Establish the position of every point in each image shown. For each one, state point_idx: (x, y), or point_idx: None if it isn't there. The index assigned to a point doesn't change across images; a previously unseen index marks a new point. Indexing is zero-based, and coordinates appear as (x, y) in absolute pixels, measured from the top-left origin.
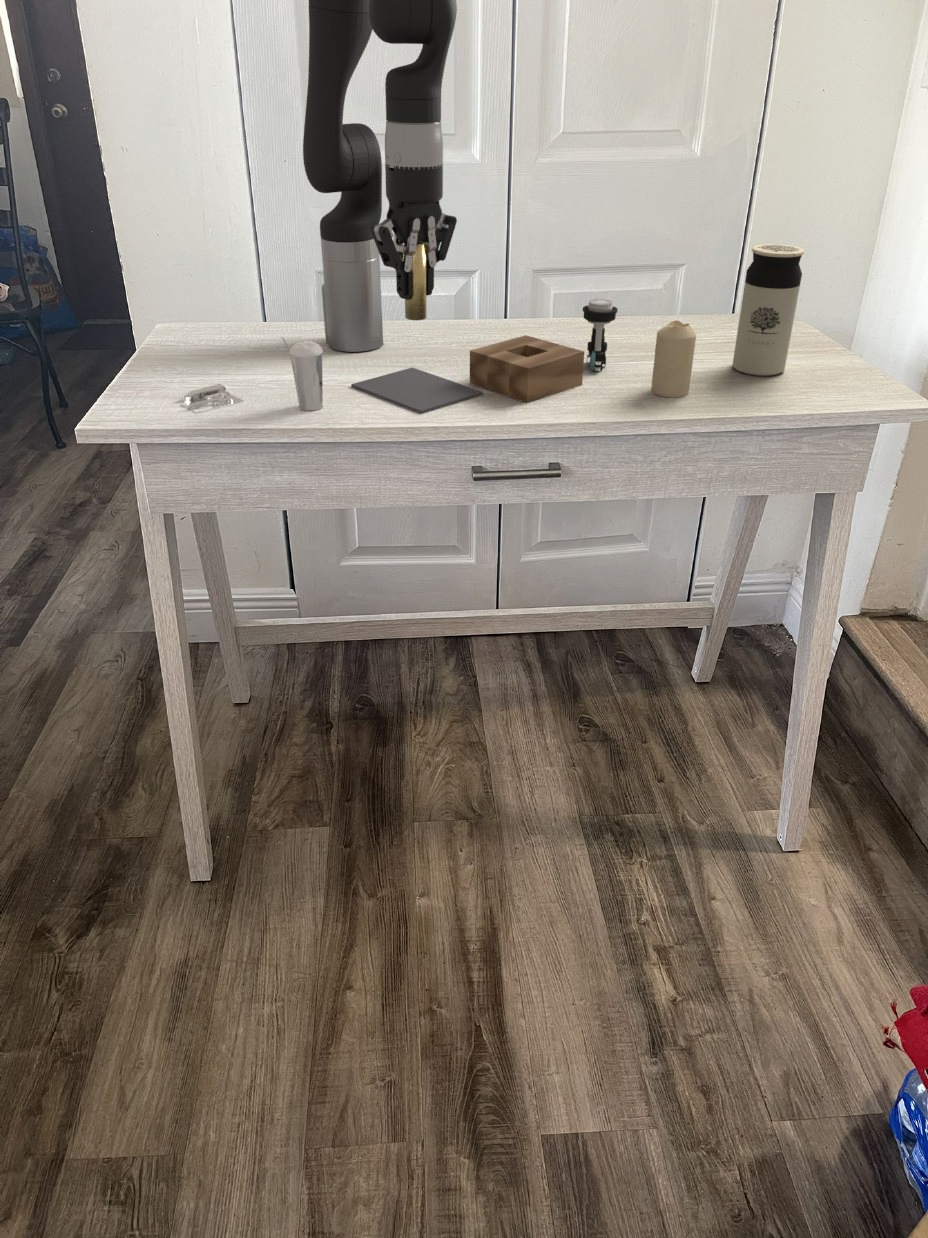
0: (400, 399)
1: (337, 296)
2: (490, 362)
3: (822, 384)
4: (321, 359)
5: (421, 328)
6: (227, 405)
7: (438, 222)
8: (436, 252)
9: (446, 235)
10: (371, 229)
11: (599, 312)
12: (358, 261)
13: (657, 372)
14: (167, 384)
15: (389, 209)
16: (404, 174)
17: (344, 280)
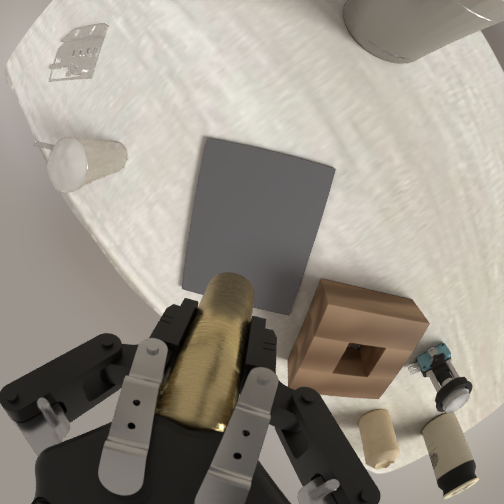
0: (197, 243)
1: None
2: (310, 336)
3: (411, 449)
4: (82, 186)
5: (491, 87)
6: (74, 78)
7: (305, 501)
8: (280, 425)
9: (300, 478)
10: (3, 392)
11: (438, 406)
12: None
13: (365, 430)
14: None
15: (37, 485)
16: None
17: None
